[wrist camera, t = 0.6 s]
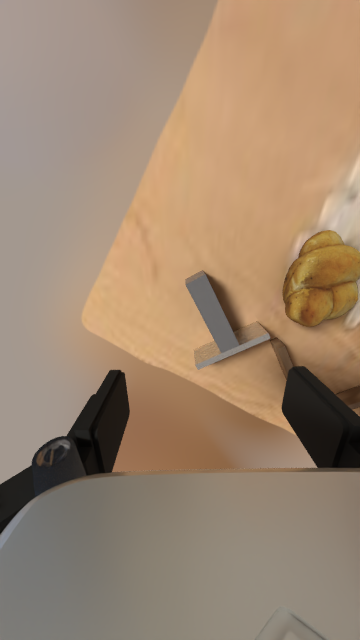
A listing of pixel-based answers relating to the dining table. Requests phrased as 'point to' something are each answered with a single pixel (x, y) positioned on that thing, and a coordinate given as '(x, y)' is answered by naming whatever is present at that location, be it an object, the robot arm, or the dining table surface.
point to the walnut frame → (349, 397)
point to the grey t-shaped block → (219, 325)
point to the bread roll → (322, 280)
